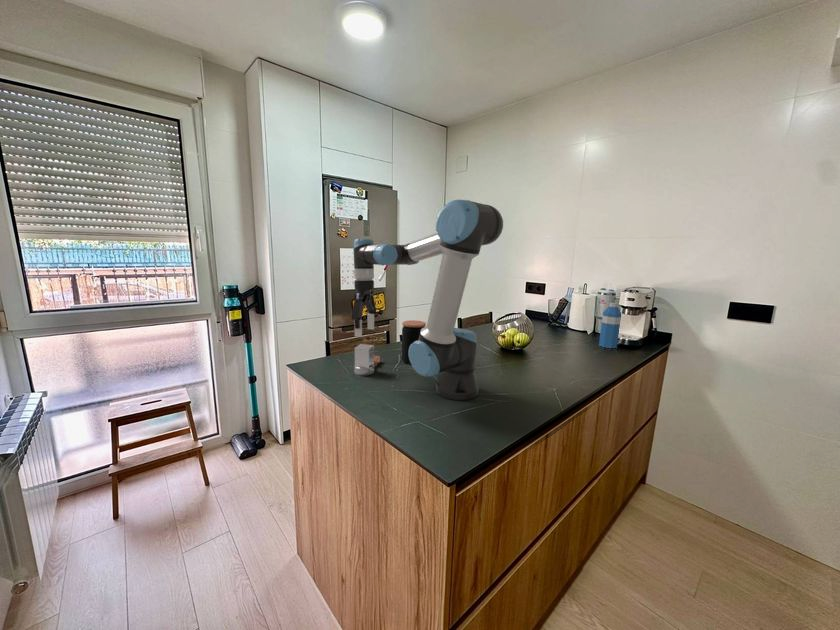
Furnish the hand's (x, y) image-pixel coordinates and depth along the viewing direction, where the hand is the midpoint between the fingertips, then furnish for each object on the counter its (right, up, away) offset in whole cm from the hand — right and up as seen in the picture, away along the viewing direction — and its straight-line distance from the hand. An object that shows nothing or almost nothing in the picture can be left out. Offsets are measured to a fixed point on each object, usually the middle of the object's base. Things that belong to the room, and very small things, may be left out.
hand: (364, 332), depth 133 cm
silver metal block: (-1, -13, +3) cm, 14 cm away
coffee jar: (+19, -14, +19) cm, 30 cm away
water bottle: (+127, -11, +52) cm, 138 cm away
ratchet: (0, -16, +8) cm, 18 cm away
